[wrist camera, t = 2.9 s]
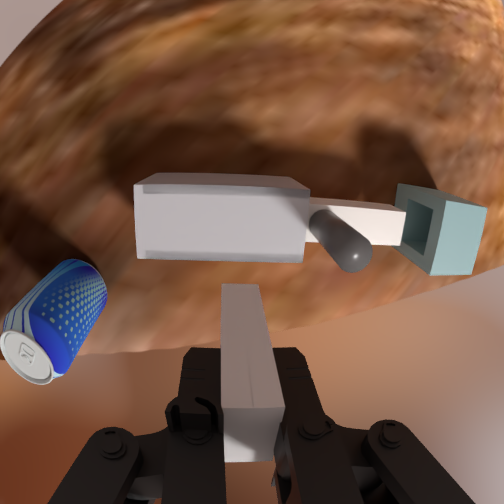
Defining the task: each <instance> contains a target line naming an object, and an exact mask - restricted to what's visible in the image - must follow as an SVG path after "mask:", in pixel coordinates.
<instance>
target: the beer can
mask: <svg viewBox="0 0 504 504" xmlns="http://www.w3.org/2000/svg"><path fill="white" fill-rule="evenodd" d="M106 301H107V290H106V286H105V283H104V281H103V279H102V277H101V275H100V273H99V272H98V271H97V270H96V269H95V268H94V267H93V266H92V265H90V264H88V263H86V262H84V261H81V260H78V259H68V260H65V261H63V262H61V263H60V264H59V265H57V266H56V267H55V268H54V269H53V270H52V271H51V272H50V273H49V274H48V275H46V276H45V277H44V278H43V279H42V280H41V281H40V282H39V283H38V284H37V285H36V286H35V287H34V288H33V289H32V290H31V291H30V292H29V293H28V294H27V295H26V296H25V297H24V298H23V299H22V300H21V301H20V302H19V303H18V304H17V305H16V306H15V307H14V308H13V309H12V310H11V311H10V312H9V313H8V314H7V316H6V318H5V320H4V326H3V333H2V335H1V337H0V347H1V351H2V353H3V355H4V357H5V359H6V361H7V362H8V363H9V365H10V366H11V367H12V368H13V369H14V370H15V371H16V372H17V373H18V374H19V375H20V376H22V377H23V378H24V379H26V380H28V381H30V382H32V383H35V384H40V385H45V384H48V383H50V382H51V381H52V379H54V378H57V377H60V376H62V375H63V374H65V373H66V372H67V370H68V369H69V367H70V365H71V363H72V362H73V360H74V358H75V356H76V354H77V353H78V351H79V349H80V347H81V346H82V344H83V342H84V340H85V339H86V337H87V335H88V333H89V332H90V330H91V328H92V327H93V325H94V323H95V322H96V320H97V318H98V317H99V315H100V313H101V312H102V310H103V309H104V307H105V305H106Z"/></svg>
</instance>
